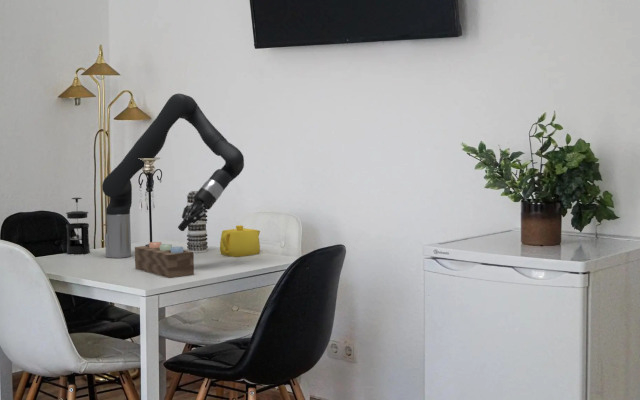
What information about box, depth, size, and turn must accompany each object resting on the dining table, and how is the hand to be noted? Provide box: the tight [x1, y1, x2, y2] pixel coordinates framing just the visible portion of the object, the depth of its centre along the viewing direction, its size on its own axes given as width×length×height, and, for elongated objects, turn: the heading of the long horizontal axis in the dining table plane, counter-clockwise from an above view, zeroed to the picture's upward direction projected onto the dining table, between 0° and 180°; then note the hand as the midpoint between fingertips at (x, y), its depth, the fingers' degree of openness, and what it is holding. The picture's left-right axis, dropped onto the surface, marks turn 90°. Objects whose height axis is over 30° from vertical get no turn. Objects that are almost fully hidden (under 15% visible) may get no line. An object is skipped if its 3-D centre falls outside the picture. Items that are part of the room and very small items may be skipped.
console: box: [134, 245, 195, 279], centre depth 308 cm, size 25×10×8 cm, turn 39°
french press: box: [65, 197, 91, 255], centre depth 352 cm, size 12×9×23 cm
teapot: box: [219, 224, 261, 258], centre depth 348 cm, size 20×12×12 cm, turn 137°
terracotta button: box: [148, 241, 162, 248], centre depth 314 cm, size 4×4×6 cm
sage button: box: [160, 243, 173, 251], centre depth 308 cm, size 4×4×6 cm
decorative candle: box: [185, 190, 209, 253], centre depth 355 cm, size 9×9×25 cm
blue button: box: [171, 246, 184, 253], centre depth 302 cm, size 4×4×6 cm
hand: (180, 229), depth 311 cm, fingers closed
